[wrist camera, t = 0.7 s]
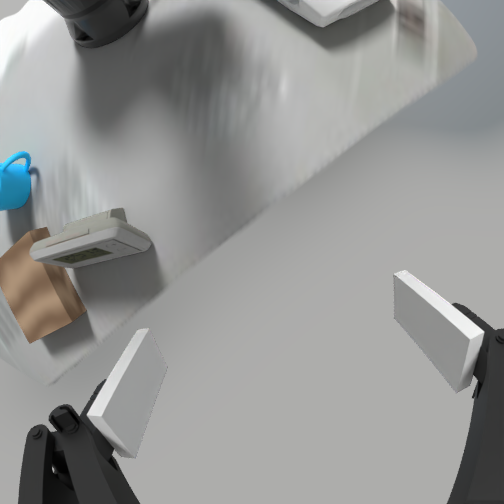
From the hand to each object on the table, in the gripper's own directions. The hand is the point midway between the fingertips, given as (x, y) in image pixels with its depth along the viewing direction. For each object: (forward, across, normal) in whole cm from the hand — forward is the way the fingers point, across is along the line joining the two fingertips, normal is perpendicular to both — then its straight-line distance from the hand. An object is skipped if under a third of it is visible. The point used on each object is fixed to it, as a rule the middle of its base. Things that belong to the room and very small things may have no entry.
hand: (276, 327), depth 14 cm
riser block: (+26, -40, 0) cm, 47 cm away
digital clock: (+27, -23, +4) cm, 36 cm away
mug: (+28, -39, +19) cm, 52 cm away
